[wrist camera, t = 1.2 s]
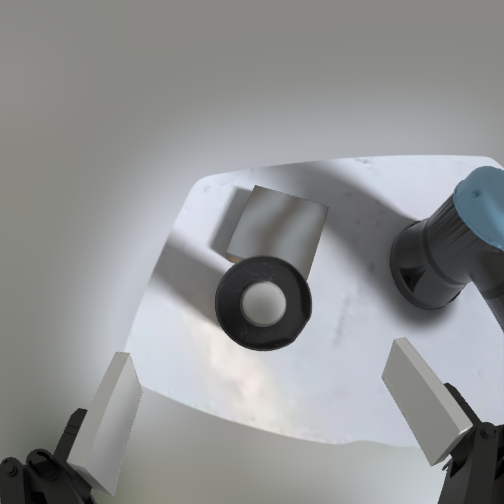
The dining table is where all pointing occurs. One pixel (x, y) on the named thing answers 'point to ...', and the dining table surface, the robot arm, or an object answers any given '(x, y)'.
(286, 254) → the walnut stand
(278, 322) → the travel mug
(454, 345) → the dining table surface
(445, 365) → the dining table surface
